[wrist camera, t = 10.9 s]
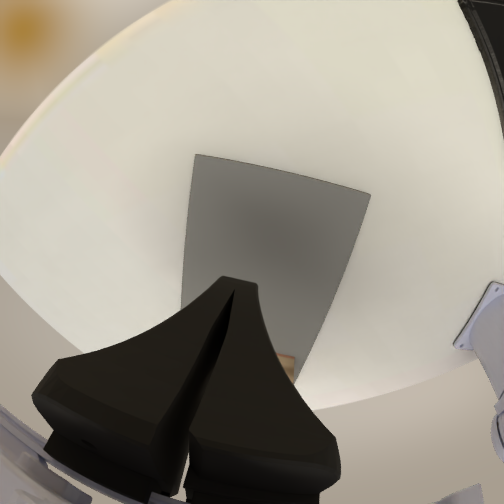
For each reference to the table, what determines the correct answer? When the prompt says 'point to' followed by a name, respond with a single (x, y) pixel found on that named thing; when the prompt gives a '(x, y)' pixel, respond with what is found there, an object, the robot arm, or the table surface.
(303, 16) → the table surface
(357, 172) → the table surface
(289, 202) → the rubber mat
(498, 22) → the phone
